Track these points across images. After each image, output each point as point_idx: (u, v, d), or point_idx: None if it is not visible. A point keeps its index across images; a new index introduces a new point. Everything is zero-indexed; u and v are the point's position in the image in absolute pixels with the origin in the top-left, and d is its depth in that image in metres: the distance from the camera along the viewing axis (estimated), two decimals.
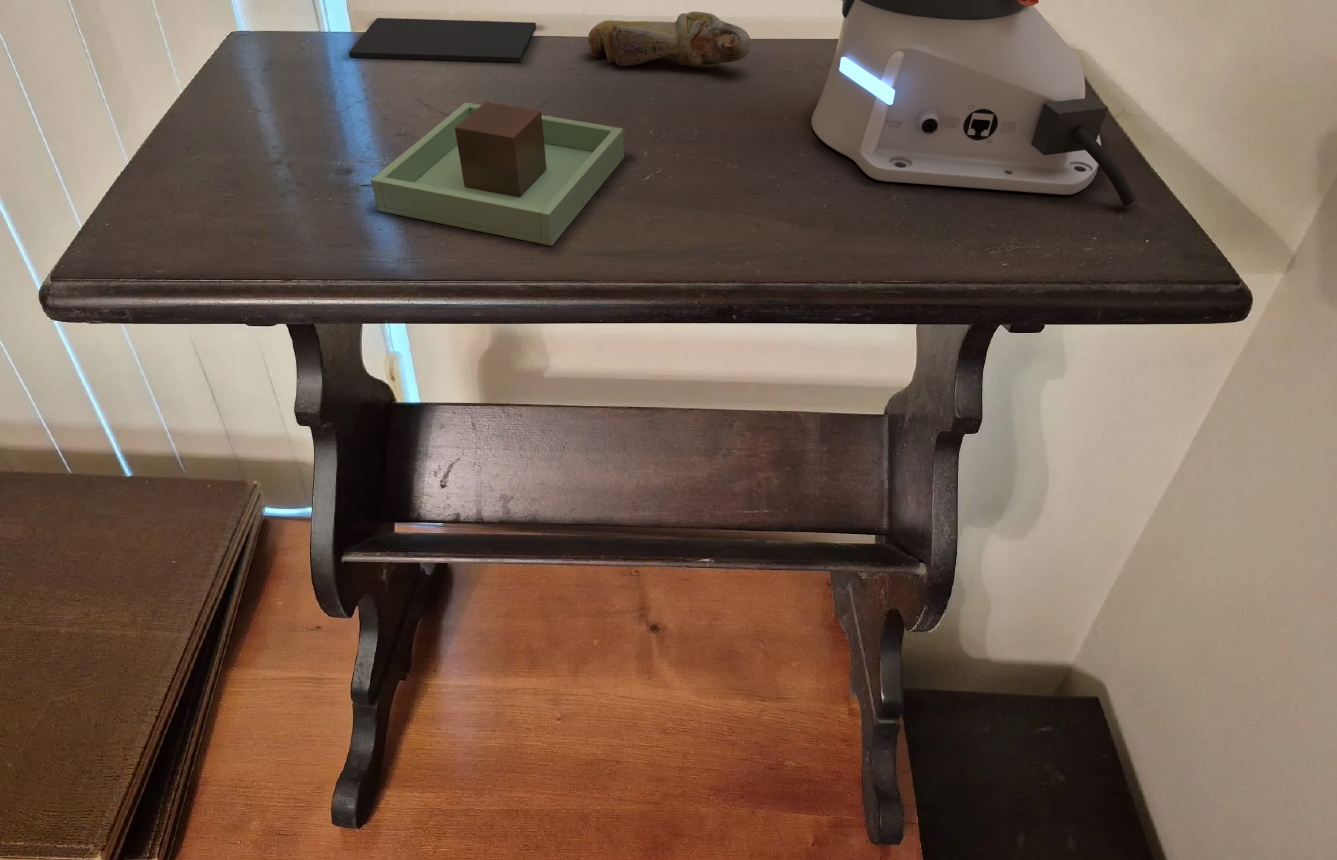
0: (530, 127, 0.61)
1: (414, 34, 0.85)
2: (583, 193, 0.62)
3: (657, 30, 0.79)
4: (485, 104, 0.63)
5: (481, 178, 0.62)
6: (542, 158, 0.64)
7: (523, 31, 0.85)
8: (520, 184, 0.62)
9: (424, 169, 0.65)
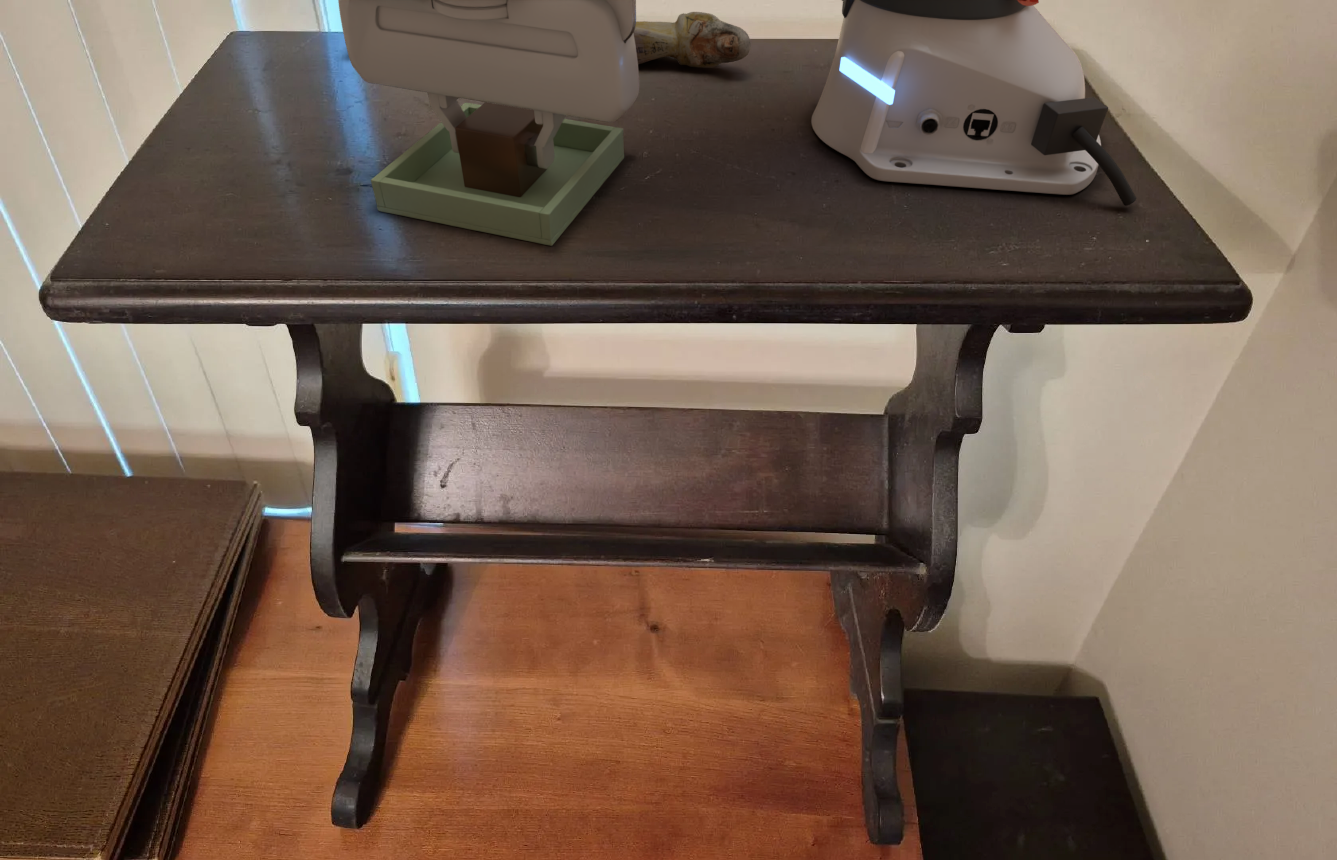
0: (530, 127, 0.61)
1: None
2: (583, 193, 0.62)
3: (657, 30, 0.79)
4: (486, 104, 0.63)
5: (481, 178, 0.62)
6: None
7: None
8: (520, 184, 0.62)
9: (424, 169, 0.65)
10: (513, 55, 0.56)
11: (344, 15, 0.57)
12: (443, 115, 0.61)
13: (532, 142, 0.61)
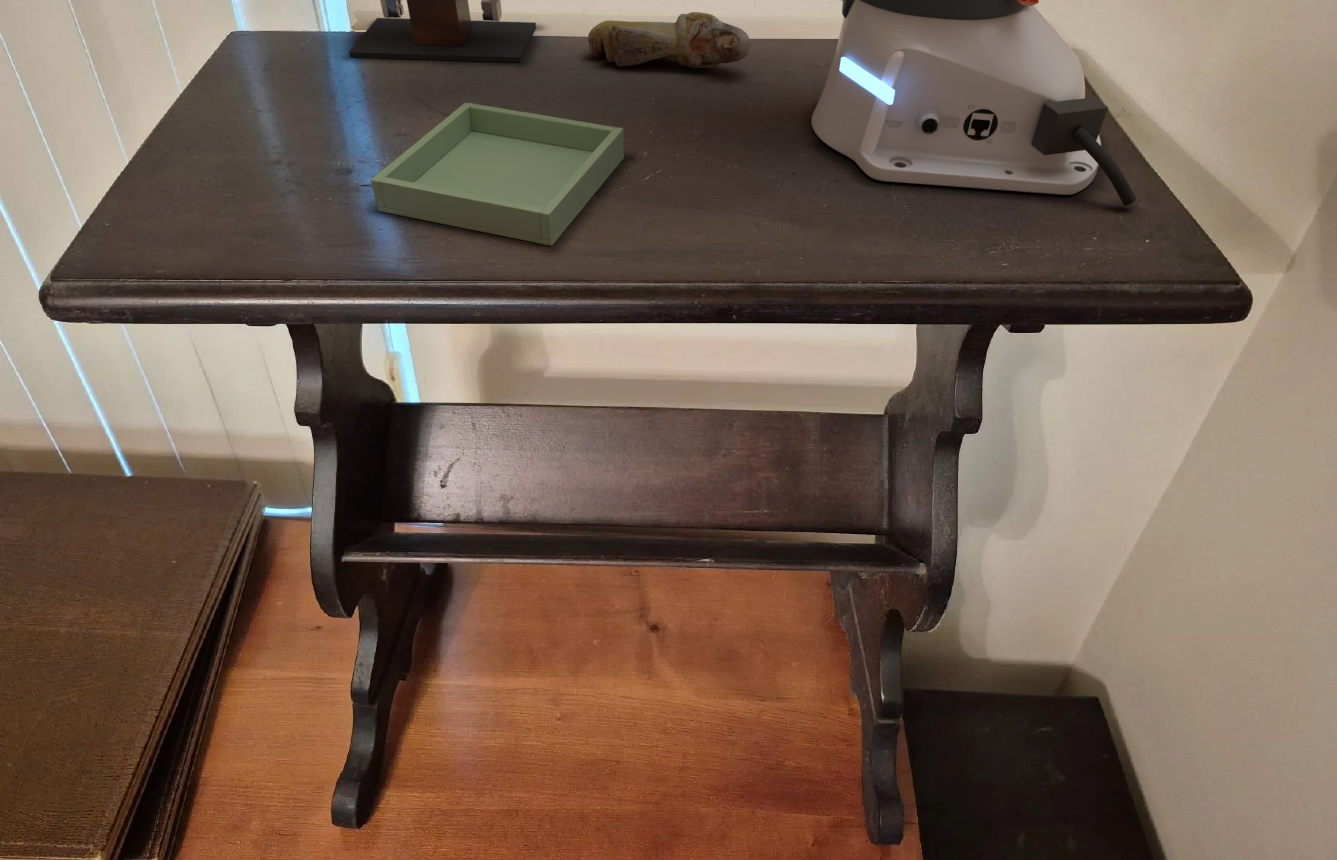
0: None
1: None
2: (583, 193, 0.62)
3: (657, 30, 0.79)
4: None
5: (429, 35, 0.82)
6: (469, 19, 0.84)
7: (523, 31, 0.85)
8: (461, 35, 0.82)
9: (424, 169, 0.65)
10: None
11: None
12: None
13: (486, 0, 0.81)
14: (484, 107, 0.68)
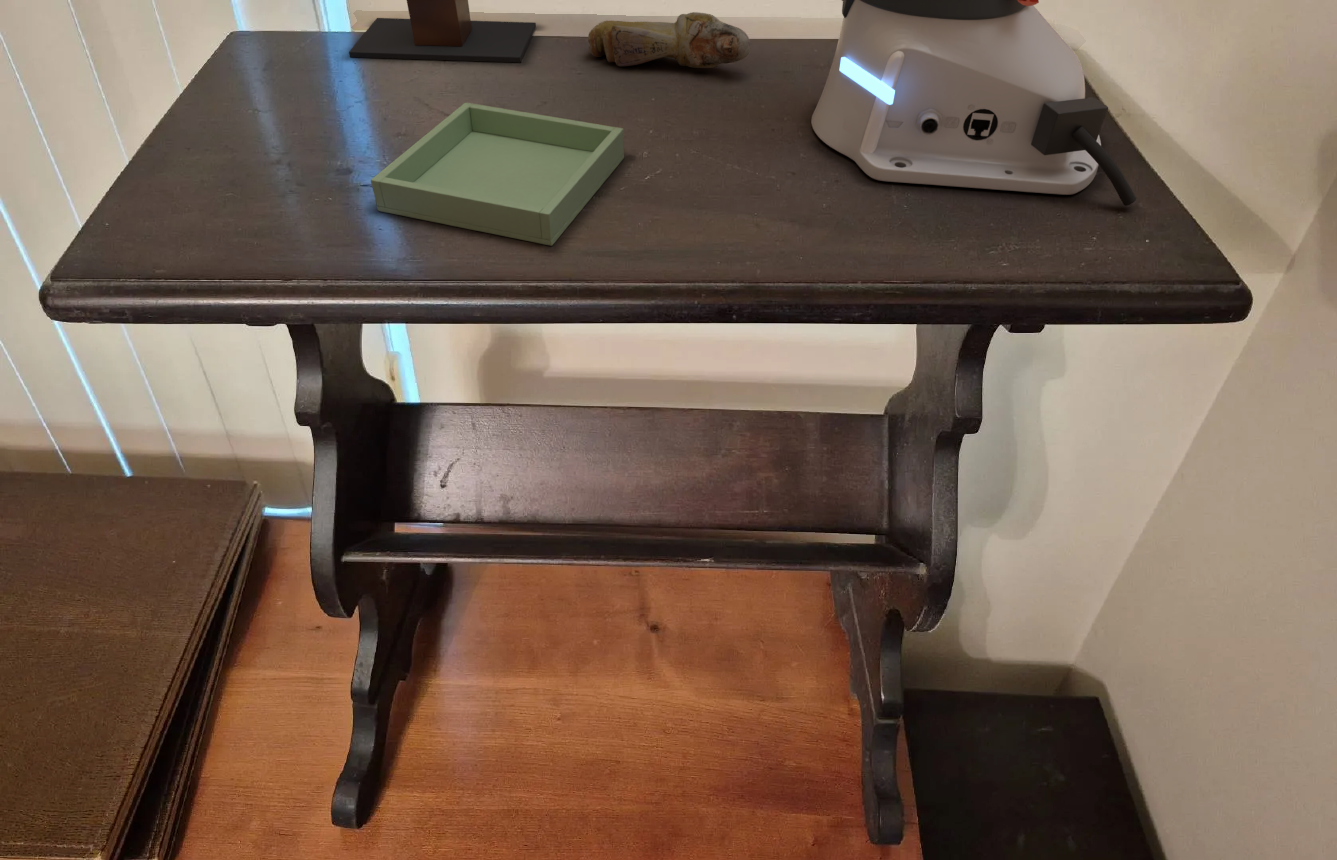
0: None
1: None
2: (583, 193, 0.62)
3: (657, 30, 0.79)
4: None
5: (429, 35, 0.82)
6: (469, 19, 0.84)
7: (523, 31, 0.85)
8: (461, 35, 0.82)
9: (424, 169, 0.65)
10: None
11: None
12: None
13: None
14: (484, 107, 0.68)
